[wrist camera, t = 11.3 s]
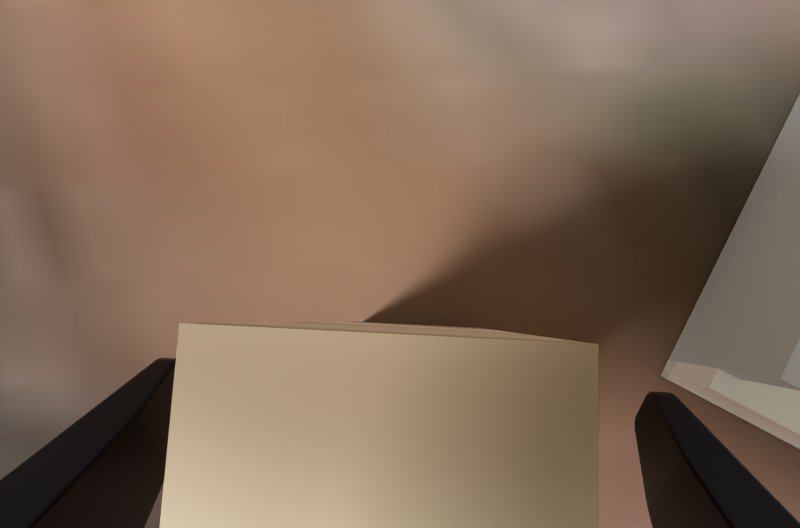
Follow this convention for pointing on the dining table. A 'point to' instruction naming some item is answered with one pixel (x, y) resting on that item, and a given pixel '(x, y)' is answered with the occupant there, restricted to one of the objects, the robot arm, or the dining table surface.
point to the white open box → (753, 306)
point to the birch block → (380, 428)
